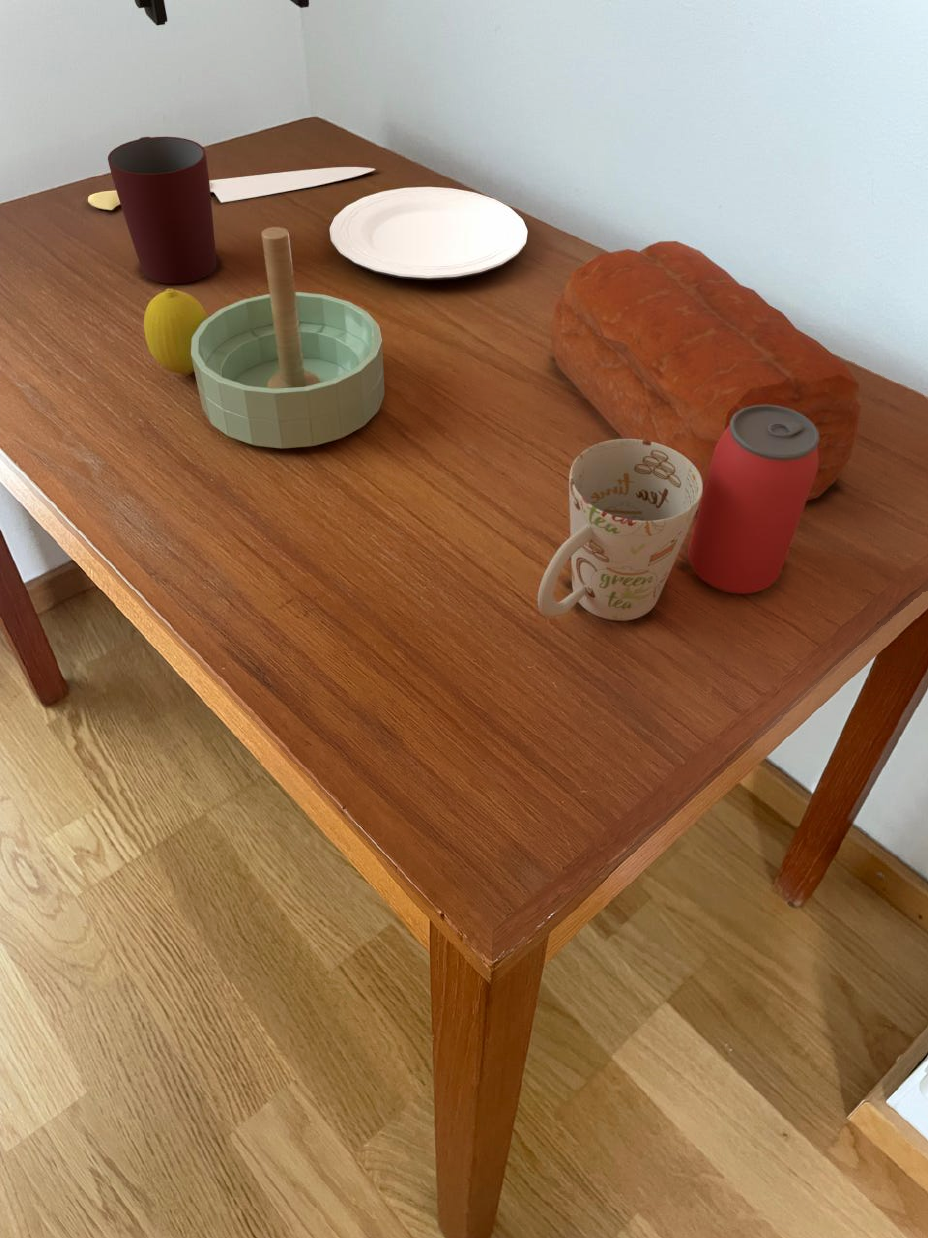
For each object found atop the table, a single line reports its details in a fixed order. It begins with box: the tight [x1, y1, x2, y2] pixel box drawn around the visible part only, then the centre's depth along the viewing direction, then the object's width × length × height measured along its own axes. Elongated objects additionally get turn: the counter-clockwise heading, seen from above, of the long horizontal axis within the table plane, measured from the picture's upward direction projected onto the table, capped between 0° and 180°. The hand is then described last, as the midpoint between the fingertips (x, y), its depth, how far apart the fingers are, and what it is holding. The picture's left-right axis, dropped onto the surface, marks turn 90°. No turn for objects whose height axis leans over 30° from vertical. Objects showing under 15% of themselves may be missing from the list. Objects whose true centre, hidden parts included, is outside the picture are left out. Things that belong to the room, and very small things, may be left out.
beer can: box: [687, 405, 819, 595], centre depth 65 cm, size 7×7×12 cm
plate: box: [329, 186, 528, 282], centre depth 102 cm, size 21×21×2 cm
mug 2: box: [537, 438, 703, 622], centre depth 63 cm, size 8×13×10 cm, turn 137°
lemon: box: [143, 288, 209, 377], centre depth 82 cm, size 6×6×8 cm
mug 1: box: [107, 136, 217, 285], centre depth 95 cm, size 12×9×11 cm
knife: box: [87, 166, 376, 211], centre depth 110 cm, size 1×33×4 cm
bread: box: [550, 240, 862, 513], centre depth 78 cm, size 16×27×11 cm, turn 24°
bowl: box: [191, 291, 385, 449], centre depth 80 cm, size 15×15×6 cm
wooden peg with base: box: [260, 226, 320, 389], centre depth 77 cm, size 4×4×14 cm
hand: (228, 10), depth 64 cm, fingers open, 9 cm apart
